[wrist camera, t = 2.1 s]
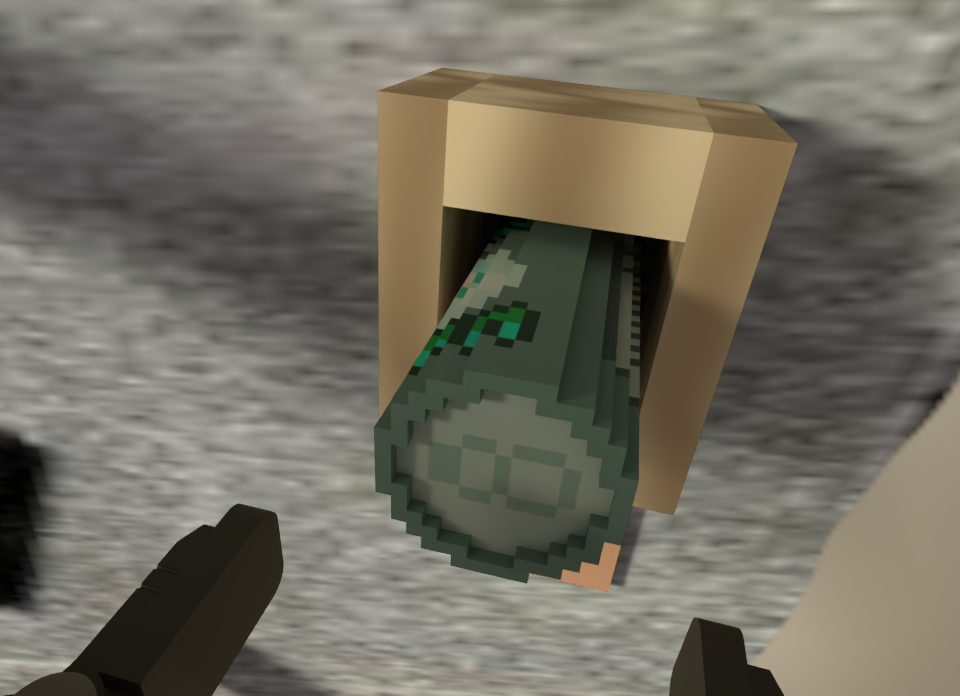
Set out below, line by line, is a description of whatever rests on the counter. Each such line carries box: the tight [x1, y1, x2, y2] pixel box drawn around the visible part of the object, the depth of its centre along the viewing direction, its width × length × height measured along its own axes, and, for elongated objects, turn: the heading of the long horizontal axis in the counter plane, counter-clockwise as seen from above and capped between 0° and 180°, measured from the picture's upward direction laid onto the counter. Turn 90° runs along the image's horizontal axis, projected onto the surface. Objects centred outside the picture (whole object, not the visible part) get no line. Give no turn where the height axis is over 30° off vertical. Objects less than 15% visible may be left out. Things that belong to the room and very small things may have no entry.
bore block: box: [378, 68, 798, 515], centre depth 24 cm, size 12×14×7 cm
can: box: [374, 215, 640, 583], centre depth 21 cm, size 6×6×15 cm
